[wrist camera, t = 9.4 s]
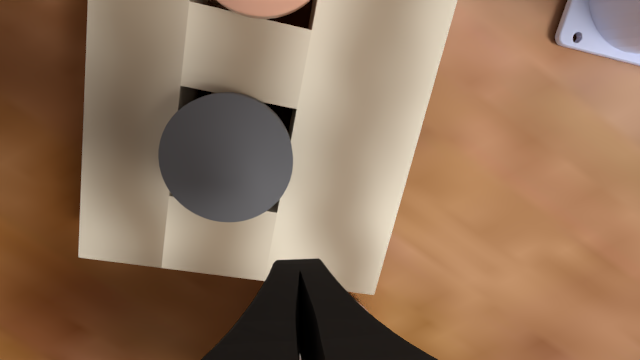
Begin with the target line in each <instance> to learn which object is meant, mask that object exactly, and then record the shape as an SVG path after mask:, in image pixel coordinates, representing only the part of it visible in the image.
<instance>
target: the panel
mask: <svg viewBox="0 0 640 360" xmlns="http://www.w3.org/2000/svg"><path fill="white" fill-rule="evenodd" d="M456 3H457V0H313V3H312V9H311V14H310V19H309V25H308V29H305V28H301V27H296V26H292V25H288V24H284V23H279V22H275V21H271V20H267V19H256V18H250V17H246V16H243V15H240V14H237V13H235V12H233V11H229V10H224V9H220V8H216V7H212V6H208V0H88V10H87V37H86V64H85V91H84V118H83V145H82V172H81V199H80V226H79V253H78V257H79V258H87V259H95V260H103V261H111V262H118V263H126V264H134V265H142V266H150V267H158V268H166V269H174V270H181V271H189V272H197V273H205V274H213V275H221V276H229V277H237V278H244V279H252V280H260V281H265V280H266V278H267V276H268V274H269V272H270V270H271V268H272V265H273V263H274V262H275V261H276V260H290V259H316V258H319V259H320V260H321V261H322V262H323V263H324V264H325V266H326V267H327V268H328V270H329V271H330V272H331V273H332V275H333V276H334V277H335V278H336V280H337V281H338V282H339V283H340V284H341V285H342V286H343V288H344V289H345V290H346V291H347V292H355V293H363V294H370V295H374V293H375V290H376V286H377V283H378V279H379V276H380V272H381V269H382V265H383V261H384V258H385V254H386V251H387V247H388V244H389V240H390V237H391V233H392V230H393V226H394V223H395V219H396V215H397V212H398V208H399V205H400V201H401V198H402V194H403V191H404V187H405V184H406V180H407V177H408V173H409V169H410V166H411V162H412V159H413V155H414V152H415V148H416V145H417V141H418V138H419V134H420V131H421V127H422V123H423V120H424V116H425V113H426V109H427V106H428V102H429V99H430V95H431V92H432V88H433V85H434V81H435V77H436V74H437V70H438V67H439V63H440V60H441V56H442V53H443V49H444V46H445V42H446V39H447V35H448V31H449V28H450V24H451V21H452V17H453V14H454V10H455V7H456ZM198 89H200V90H205V91H209V92H214V93H220V92H234V93H241V94H245V95H248V96H251V97H253V98H256V99H257V100H259V101H261V102H264V103H269V104H274V105H279V106H284V107H289V108H293V110H292V116H291V121H290V126H289V132H288V134H289V137H290V141H291V146H292V153H293V169H292V175H291V179H290V182H289V184H288V187H287V189H286V190H285V192H284V194H283V195H282V197H281V198H280V199H279V200H278V202H277V203H276V204H275V205H274V206H272V207H271V208H270V209H269V210H267V211H266V212H264V213H262V214H261V215H259V216H257V217H254V218H252V219H249V220H245V221H240V222H218V221H213V220H209V219H206V218H203V217H200V216H198V215H196V214H194V213H193V212H191V211H189V210H188V209H186V208H185V207H184V206H183V205H181V204H180V203H179V202H178V201H177V200H176V199H175V198H174V196H173V195H172V194H171V192H170V191H169V190H168V188H167V186H166V184H165V182H164V180H163V177H162V175H161V171H160V167H159V160H158V150H159V144H160V139H161V136H162V133H163V131H164V129H165V127H166V125H167V123H168V122H169V120H170V119H171V118H172V117H173V115H174V114H175V113H176V112H177V111H178V110H180V109H181V108H182V107H183V106H185V105H186V104H188V103H190V102H191V101H193V100H196V99H197V93H198Z"/></svg>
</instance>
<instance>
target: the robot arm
mask: <svg viewBox="0 0 640 360" xmlns="http://www.w3.org/2000/svg"><path fill="white" fill-rule="evenodd" d="M574 34H576V36H577V37H576V40H575V42H573V36H574ZM555 41H556V43H557V44H558V45H560V46H563V47H567V48H571V49H575V50H579V51H583V52H587V53H590V54H594V55H598V56H602V57H606V58H610V59H614V60H618V61H622V62H626V63H629V64H633V65H637V66H640V0H567V3H566V6H565V9H564V12H563V14H562V17H561V20H560V23H559V26H558V29H557V31H556V35H555ZM300 356H301V360H438V359H436V358H434V357H432V356H430V355H429V354H427V353H425V352H424V351H422V350H420V349H419V348H417V347H415V346H414V345H412V344H410V343H409V342H407V341H406V340H404V339H403V338H401V337H400V336H398V335H397V334H395V333H394V332H393V331H391V330H390V329H389V328H387V327H386V326H385V325H383V324H382V323H381V322H379V321H378V320H377V319H375V318H374V317H373V316H372V315H371V314H369V313H368V312H367V311H366V310H365V309H364V308H363V307H362V306H361V305H360V304H359V303H358V302H357V301H356V300H355V299H354V298H353V297H352V296H351V295H350V294H349V293H348V292H347V291H346V290H345V289H344V288H343V286H342V285H341V284H340V283H339V282H338V281H337V280H336V278H335V277H334V276H333V275H332V273H331V272H330V271H329V270H328V268H327V267H326V266H325V264H324V263H323V262H322V261H321V260H320V259H319V258H316V259H290V260H276V261H275V262H274V263H273V265H272V268H271V270H270V272H269V274H268V276H267V278H266V280H265V282H264V284H263V285H262V287H261V289H260V290H259V292H258V293H257V295H256V297H255V298H254V300H253V301H252V303H251V304H250V305H249V307H248V308H247V309H246V311H245V312H244V313H243V315H242V316H241V317H240V319H239V320H238V321H237V323H236V324H235V325H234V326H233V327H232V328H231V330H230V331H229V332H228V333H227V334H226V335H225V336H224V337H223V338H222V339H221V341H220V342H219V343H218V344H217V345H216V346H215V347H214V348H213V349H212V350H211V351H209V352H208V353H207V354H206V355H205V356H204V357H203V358H202V359H201V360H300Z"/></svg>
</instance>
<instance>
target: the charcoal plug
mask: <svg viewBox="0 0 640 360" xmlns="http://www.w3.org/2000/svg"><path fill="white" fill-rule="evenodd" d="M158 160H159V167H160V171H161V175H162V177H163V180H164V182H165V184H166V186H167V188H168V190H169V191H170V192H171V194H172V195H173V196H174V198H175V199H176V200H177V201H178V202H179V203H180V204H181V205H183V206H184V207H185V208H186V209H188V210H189V211H191V212H193V213H194V214H196V215H198V216H200V217H203V218H206V219H209V220H213V221H218V222H240V221H245V220H249V219H252V218H254V217H257V216H259V215H261V214H262V213H264V212H266V211H267V210H269V209H270V208H271V207H272V206H274V205H275V204H276V203H277V202H278V200H279V199H280V198H281V197H282V195H283V194H284V192H285V190H286V189H287V187H288V184H289V182H290V179H291V175H292V169H293V153H292V146H291V141H290V137H289V134H288V132H287V129H286V127H285V126H284V124H283V122H282V120H281V119H280V118H279V117H278V115H277V114H276V113H275V112H274V111H273V110H272V109H271V108H270V107H268V106H267V105H266V104H264V103H263V102H261V101H259V100H257V99H256V98H253V97H251V96H248V95H245V94H241V93H234V92H220V93H213V94H210V95H206V96H203V97H201V98H198V99H196V100H193V101H191V102H190V103H188V104H186V105H185V106H183V107H182V108H181V109H180V110H178V111H177V112H176V113H175V114H174V115H173V117H172V118H171V119H170V120H169V122H168V123H167V125H166V127H165V129H164V131H163V133H162V136H161V139H160V144H159V150H158Z"/></svg>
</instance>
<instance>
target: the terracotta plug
mask: <svg viewBox="0 0 640 360" xmlns="http://www.w3.org/2000/svg"><path fill="white" fill-rule="evenodd" d="M216 1H217V2H219V3H220V4H221V5H223V6H224V7H226V8H227V9H229V10H231V11H233V12H235V13H237V14H240V15H243V16H246V17H250V18H256V19H272V18H279V17H282V16H286V15H288V14H291V13H293V12H295V11H297V10H298V9H300V8H302V7H303V6H304V5H306V4H307V3H308V2H309V1H310V0H216Z"/></svg>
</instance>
